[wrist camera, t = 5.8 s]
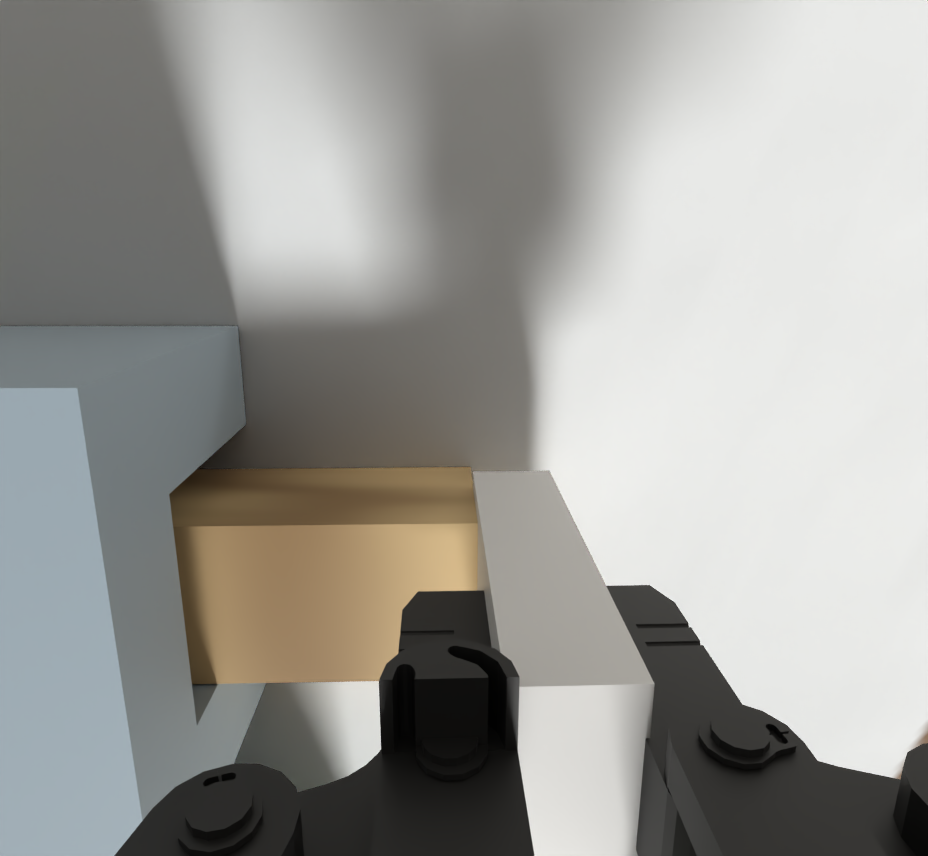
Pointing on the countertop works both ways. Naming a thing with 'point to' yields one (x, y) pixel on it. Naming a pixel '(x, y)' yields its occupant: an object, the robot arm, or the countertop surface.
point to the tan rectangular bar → (314, 566)
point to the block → (104, 578)
